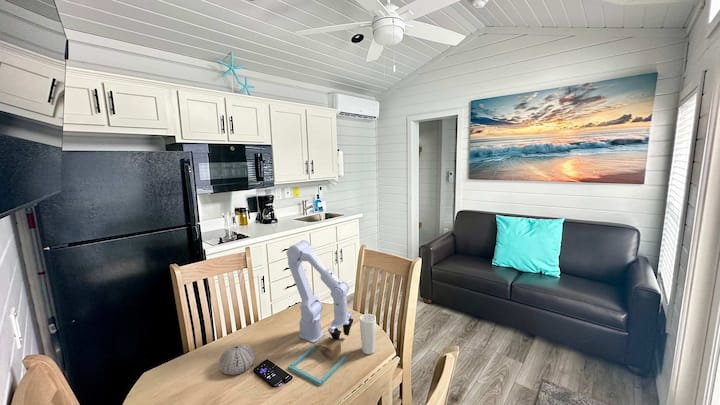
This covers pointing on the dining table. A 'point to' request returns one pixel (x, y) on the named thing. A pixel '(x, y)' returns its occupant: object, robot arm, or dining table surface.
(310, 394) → the dining table surface
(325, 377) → the frame
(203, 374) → the dining table surface
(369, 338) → the white cup
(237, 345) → the sea urchin shell
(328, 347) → the walnut block
